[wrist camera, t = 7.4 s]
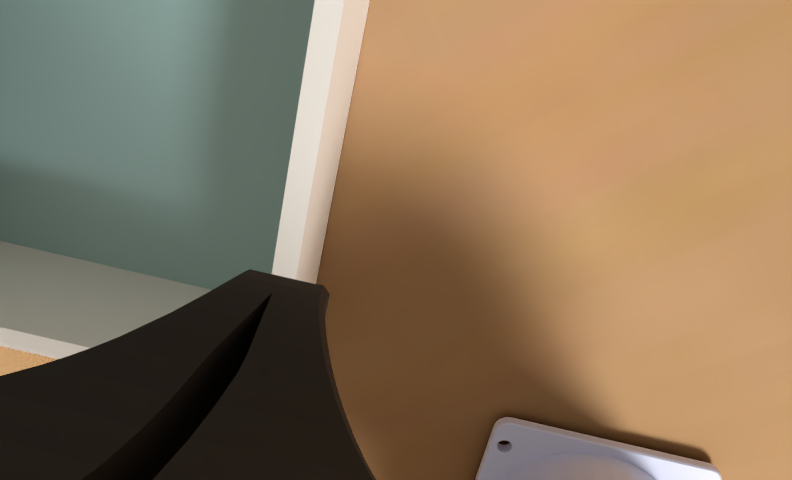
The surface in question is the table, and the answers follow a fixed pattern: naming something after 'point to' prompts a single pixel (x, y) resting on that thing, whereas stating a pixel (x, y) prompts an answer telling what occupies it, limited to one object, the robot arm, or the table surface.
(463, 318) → the table surface
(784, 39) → the table surface
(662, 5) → the table surface
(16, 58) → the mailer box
